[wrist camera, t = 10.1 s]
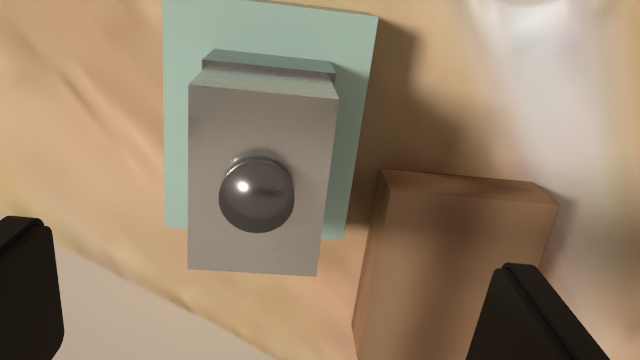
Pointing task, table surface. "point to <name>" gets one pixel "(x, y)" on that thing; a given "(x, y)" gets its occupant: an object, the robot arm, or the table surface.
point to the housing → (259, 162)
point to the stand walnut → (440, 259)
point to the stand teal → (273, 39)
